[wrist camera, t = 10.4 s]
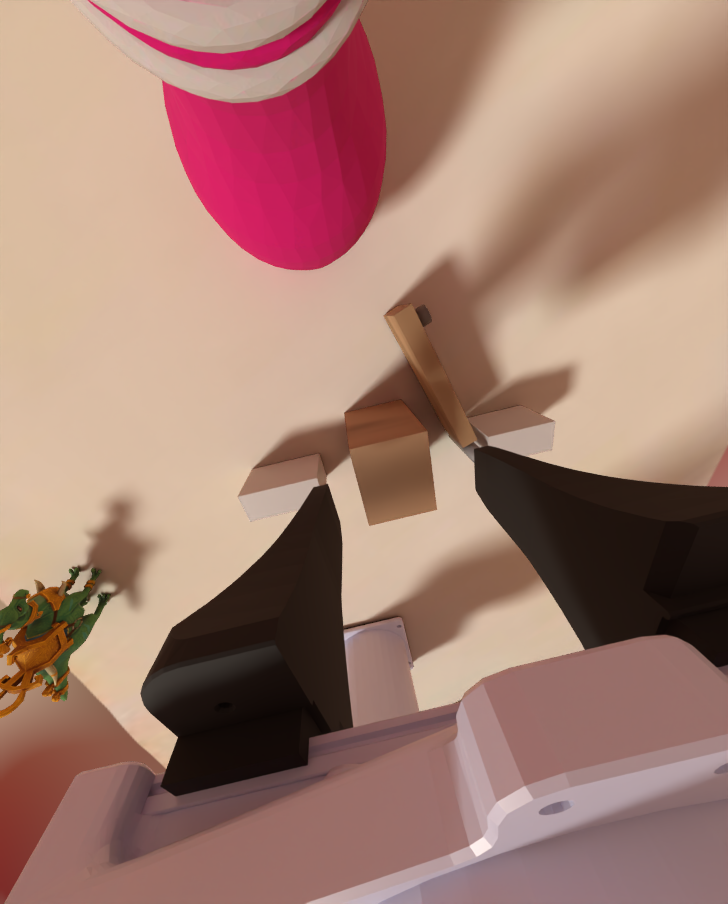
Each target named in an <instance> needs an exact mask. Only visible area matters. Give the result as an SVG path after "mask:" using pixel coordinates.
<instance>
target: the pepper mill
mask: <svg viewBox="0 0 728 904" xmlns="http://www.w3.org/2000/svg"><path fill="white" fill-rule="evenodd" d="M70 1H71V2H72V3H73V4H74V6H75V7H76V8H77V9H78V10H79V11H80V12H81V13H82V14H83V15H84V16H85V17H86V18H87V20H88V21H89V22H90V23H91V24H92V25H93V26H94V27H95V28H96V29H97V30H98V31H99V32H100V33H101V34H102V35H103V36H104V37H105V38H106V39H107V40H108V41H109V42H111V43H112V44H113V45H114V46H115V47H116V48H118V49H119V50H120V51H121V52H122V53H124V54H125V55H126V56H127V57H128V58H129V59H131V60H132V61H133V62H134V63H136V64H138V65H139V66H141V67H142V68H144V69H146V70H147V71H149V72H150V73H152V74H153V75H155V76H157V77H158V78H160V79H161V80H162V83H163V92H164V100H165V107H166V111H167V115H168V119H169V123H170V127H171V130H172V134H173V138H174V142H175V146H176V149H177V151H178V154H179V156H180V159H181V162H182V164H183V167H184V169H185V172H186V174H187V176H188V178H189V180H190V182H191V184H192V186H193V188H194V190H195V192H196V194H197V196H198V197H199V199H200V200H201V202H202V203H203V205H204V207H205V208H206V210H207V211H208V212H209V214H210V215H211V216H212V217H213V218H214V219H215V221H216V222H217V223H218V224H219V225H220V227H221V228H222V229H223V230H224V231H225V232H226V233H227V235H228V236H229V237H230V238H231V239H232V240H234V241H235V242H236V243H237V244H238V245H239V246H240V247H241V248H242V249H244V250H245V251H247V252H248V253H250V254H251V255H253V256H254V257H256V258H257V259H259V260H261V261H264V262H266V263H268V264H271V265H273V266H276V267H280V268H284V269H290V270H313V269H318V268H322V267H324V266H326V265H328V264H330V263H332V262H333V261H335V260H336V259H338V258H339V257H341V256H342V255H344V254H345V253H346V252H347V251H348V250H349V249H350V248H351V247H352V246H353V245H354V244H355V243H356V242H357V241H358V239H359V238H360V237H361V235H362V234H363V233H364V231H365V229H366V227H367V226H368V224H369V222H370V220H371V218H372V216H373V213H374V210H375V208H376V205H377V202H378V199H379V194H380V190H381V186H382V180H383V173H384V166H385V160H386V123H385V114H384V105H383V99H382V93H381V89H380V84H379V79H378V74H377V70H376V65H375V60H374V57H373V54H372V51H371V48H370V45H369V42H368V39H367V36H366V34H365V32H364V29H363V27H362V25H361V22H360V20H359V17H360V15H361V13H362V11H363V9H364V7H365V6H366V4H367V2H368V0H70Z"/></svg>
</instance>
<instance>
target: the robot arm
mask: <svg viewBox="0 0 728 904" xmlns="http://www.w3.org/2000/svg"><path fill="white" fill-rule="evenodd" d="M474 464H475V488H476V491H477V493H478V495H479V496H480V498H481V500H482V501H483V503H484V505H485V506H486V508H487V509H488V510H489V512H490V513H491V514H492V515H493V517H494V518H495V519H496V520H497V522H498V523H499V524H500V525H501V526H502V528H503V529H504V530H505V531H506V532H507V534H508V535H509V536H510V537H511V538H512V540H513V541H514V542H515V543H516V544H517V546H518V547H519V548H520V549H521V550H522V552H523V553H524V554H525V556H526V557H527V558H528V560H529V561H530V562H531V564H532V565H533V567H534V568H535V570H536V571H537V573H538V574H539V576H540V577H541V579H542V580H543V582H544V583H545V585H546V586H547V588H548V589H549V591H550V593H551V594H552V596H553V597H554V599H555V600H556V602H557V604H558V605H559V607H560V608H561V610H562V612H563V613H564V615H565V617H566V618H567V620H568V622H569V623H570V625H571V627H572V628H573V630H574V632H575V633H576V635H577V637H578V638H579V640H580V642H581V643H582V645H583V647H584V649H585V650H583V651H579V652H575V653H571V654H566V655H562V656H558V657H554V658H550V659H545V660H541V661H537V662H533V663H529V664H524V665H520V666H516V667H512V668H508V669H506V670H503V671H501V672H498V673H495V674H493V675H490V676H488V677H485V678H483V679H481V680H480V681H479V682H478V683H476V684H475V685H474V686H473V687H471V688H470V689H469V690H468V691H466V692H465V693H464V696H463V698H462V701H461V702H458V703H454V704H450V705H445V706H441V707H437V708H433V709H429V710H424V711H420V712H419V708H418V703H417V699H416V694H415V690H414V685H413V681H412V676H411V672H410V670H411V669H413V667H414V665H413V661H412V657H411V653H410V649H409V645H408V641H407V637H406V633H405V628H404V624H403V620H402V618H400V617H396V618H392V619H388V620H383V621H379V622H375V623H371V624H366V625H362V626H358V627H354V628H350V629H345V630H343V617H342V599H341V589H342V534H341V525H340V520H339V517H338V514H337V511H336V508H335V505H334V502H333V498H332V495H331V492H330V489H329V486H328V484H325V485H320V486H316V487H313V489H312V490H311V492H310V493H309V495H308V496H307V498H306V500H305V501H304V503H303V504H302V506H301V507H300V509H299V510H298V512H297V513H296V515H295V516H294V518H293V519H292V521H291V522H290V523H289V525H288V526H287V527H286V529H285V530H284V531H283V533H282V534H281V535H280V537H279V538H278V539H277V540H276V541H275V542H274V544H273V545H272V546H271V547H270V548H269V549H268V550H267V551H266V552H265V553H264V555H263V556H262V557H261V558H260V559H259V560H257V561H256V562H255V563H254V564H253V565H252V566H251V567H250V568H249V569H248V570H247V571H246V572H245V573H244V574H243V575H242V576H240V577H239V578H238V579H237V580H236V581H235V582H233V583H232V584H231V585H230V586H229V587H227V588H226V589H225V590H224V591H222V592H221V593H220V594H219V595H217V596H216V597H215V598H214V599H212V600H211V601H210V602H208V603H207V604H206V605H204V606H203V607H201V608H200V609H198V610H197V611H196V612H194V613H193V614H191V615H190V616H189V617H187V618H186V619H184V620H183V621H181V622H180V623H179V624H177V625H176V626H174V627H173V628H172V629H171V631H170V633H169V635H168V637H167V639H166V641H165V643H164V644H163V646H162V648H161V650H160V652H159V654H158V656H157V658H156V660H155V662H154V664H153V666H152V668H151V670H150V671H149V673H148V675H147V677H146V679H145V681H144V683H143V686H142V689H141V697H142V701H143V704H144V706H145V707H146V708H147V710H148V711H149V712H150V713H151V714H152V715H153V716H154V717H155V718H157V719H158V720H159V721H160V722H161V723H162V724H164V725H165V726H166V727H167V728H168V729H169V730H170V731H172V732H173V733H174V734H175V735H176V736H177V737H178V739H177V742H176V745H175V747H174V750H173V753H172V755H171V758H170V761H169V764H168V766H167V769H166V772H164V773H160V774H156V775H155V774H154V772H153V771H152V770H151V769H150V768H149V767H148V766H147V765H145V764H142V763H140V762H132V761H131V762H123V763H118V764H114V765H110V766H105V767H101V768H98V769H93V770H89V771H85V772H81V773H80V774H78V775H77V776H76V777H75V778H74V780H73V782H72V784H71V785H70V787H69V789H68V791H67V793H66V794H65V796H64V798H63V800H62V801H61V803H60V805H59V807H58V809H57V810H56V812H55V814H54V816H53V817H52V819H51V821H50V823H49V825H48V826H47V828H46V830H45V832H44V834H43V835H42V837H41V839H40V841H39V842H38V844H37V846H36V848H35V850H34V851H33V853H32V855H31V857H30V859H29V860H28V862H27V864H26V866H25V867H24V869H23V871H22V873H21V875H20V877H19V878H18V880H17V882H16V883H15V885H14V887H13V889H12V891H11V892H10V894H9V896H8V898H7V900H6V902H5V903H4V904H728V487H709V486H689V485H676V484H663V483H653V482H644V481H636V480H628V479H621V478H614V477H608V476H602V475H597V474H592V473H587V472H582V471H577V470H572V469H568V468H564V467H561V466H557V465H553V464H549V463H546V462H542V461H539V460H535V459H532V458H529V457H526V456H523V455H520V454H516V453H513V452H510V451H507V450H504V449H501V448H497V447H493V446H489V445H488V446H484V447H480V448H475V449H474Z"/></svg>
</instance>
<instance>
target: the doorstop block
mask: <svg viewBox="0 0 728 904" xmlns="http://www.w3.org/2000/svg"><path fill="white" fill-rule="evenodd" d="M344 414H345V422H346V430H347V438H348V446H349V452H350V455H351V459H352V463H353V467H354V470H355V474H356V478H357V482H358V486H359V489H360V493H361V497H362V501H363V504H364V508H365V512H366V516H367V519H368V523H369V526H370V525H375V524H379V523H383V522H387V521H391V520H396V519H400V518H404V517H408V516H413V515H417V514H421V513H425V512H429V511H434V510H437V507H436V498H435V490H434V482H433V473H432V465H431V457H430V449H429V440H428V432H427V430H426V429H425V428H424V426H423V425H422V424H421V423H420V422H419V420H418V419H417V418H416V417H415V415H414V414H413V413H412V412H411V411H410V409H409V408H408V407H407V406H406V405H405V403H404V402H403V401H402V400H401V399H400V400H396V401H392V402H388V403H383V404H379V405H375V406H371V407H367V408H362V409H358V410H354V411H350V412H346V413H344Z"/></svg>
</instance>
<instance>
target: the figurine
mask: <svg viewBox="0 0 728 904" xmlns="http://www.w3.org/2000/svg"><path fill="white" fill-rule="evenodd" d="M91 572H92V578H91V579H90V580H88V581H87V584H86V585H85V586H84V590H83V591H82V592H76V593H72V594H71V595H69V594H67V593H66V592H67V591H68V590H70V589H71V588H72V585H74V583H75V580H76V578H77V577H78V576H79V568H77V567H76V568H75V569H74V571H73V570H72V569H69V573H70V574H71V576H72V577H71V578H70V579H68V580H67V581H66V582H65V581H62V585H61V586H60V588H58V587H49V588H47V589H45V587H44V586H43V584H42V583H41V582H40V581H37V580H34V581H35V584H36V589H37V594H35V595H33V596H31V594H29V591H28V590H24V589H21V590H19V591H17V592H16V593H15V594H14V595H13V599H12V601H11V603H10V605H9V606H8V607H6V608H4V609H2V610H1V611H0V658H2V657H3V654H6V653H7V652H9V651H10V648H9V646H10V645H11V643H12V646H13V647H14V648H15V649H14V650H13V651H12V652H11V653H10V654H8V655H7V665H12V664H13V663H14V662H15V663H16V664H17V666H18V667H19V669H20V671H19V672H18V673H17V674H15V675H14V676H13V677H12V678H10V677H9V676H8V675H5V676H4V677H3V678H2V679H0V688H1V689H2V690H3V691H2V692H1V693H0V699H1V698H2V697H3V696H4V695H5V694H6V693H7V692H8V693H12V694H17V693H20V694H19V696H18V698H17V699H16V701H15V702H14V703H13V704H12V705H11V706H9V707H8V708H6V709H4V710H2V711H0V718H2V717H4V716H6V715H8V714H10V713H11V712H12V711H14V710H15V709H16V708H17V707H18V706H19V705H20V704H21V703H22V702H23V700H24V697H25V693H26V691H28V690H31V689H34V688H36V687H39V686H41V685H42V681H43V679H45V680H46V683H45V685H46V686H47V687H46V688H45V690H44V691H43V693H42V696H45V697H46V696H51V695H52V694H53V696H52V701H54V702H58V701H59V699H62V700H63V701H65V700H67V694H68V691H67V689H68V681H67V675H68V674H69V671H70V669H69V667H68V661H69V658H70V655H71V654H72V653H73V652H74V651H76V650H77V649H78V648H79V647H80V646H81V645H82V644H83V643H84V642H85V641H86V639H87V638H88V636H89V634H90V632H91V630H92V628H93V626H94V624H95V622H96V621H97V619H98V618H99V616H100V614H101V612H102V610H103V608H104V606H105V605H106V604H107V603H106V602H107V601H108V599H109V597H110V594H108V595H107V598H106V594H103V595H102V596H101V595H100V594H98V596H97V597H98V598H99V604H98V607H97V609H96V611H95V613H94V614H92V613H91V614H88V615H85V616H83V615H84V611H85V610H84V608H83V606H84V605H86V604H87V603H88V602H86V601H87V596H88V593H89V592H90V591H91V590H92V588H93V586H94V585H95V580H96V578H97V577H98V576H99V574H100V573H101V570H99V571H98V572H97V573H96V570H95V569H94V568H92V569H91ZM30 596H31V597H30ZM29 597H30V598H29ZM27 598H29V599H28V600H27V603H26V599H27ZM20 628H21V630H20V631H19V632H18V634H17V635H16V636H15V638H14V639H12V638H11V637H8V638H7V639H6V640H5V642H6V643H5V642H4V641H3V634H4V632H5V631H6V630H15V629H20ZM34 674H36V675H37V676H35V677H34ZM33 677H34V679H35V680H36V681H35V682H33V683H32V680H33ZM20 682H22V683H21V685H20V686H17V685H18V684H19V683H20ZM53 688H54V690H53Z"/></svg>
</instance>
